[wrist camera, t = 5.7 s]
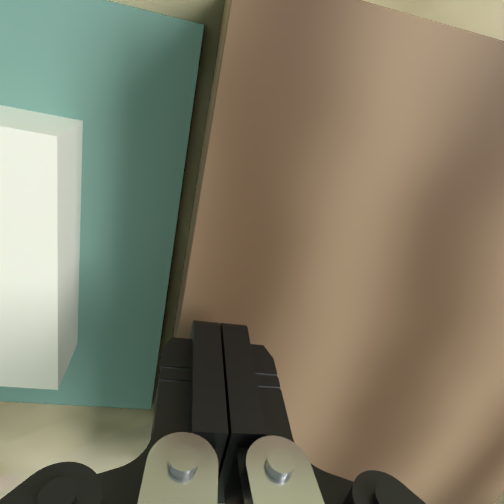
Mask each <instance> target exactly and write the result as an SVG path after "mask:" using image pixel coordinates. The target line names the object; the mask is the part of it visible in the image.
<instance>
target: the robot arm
mask: <svg viewBox="0 0 504 504" xmlns="http://www.w3.org/2000/svg"><path fill="white" fill-rule="evenodd" d="M217 503H220V504H426V503H425V502H424V501H423V500H421V499H420V498H419V497H418V496H417V495H416V494H414V493H413V492H412V491H411V490H410V489H408V488H407V487H406V486H405V485H404V484H403V483H401V482H400V481H399V480H398V479H396V478H395V477H393V476H391V475H389V474H387V473H385V472H381V471H376V470H368V471H364V472H362V473H360V474H359V475H358V476H357V477H356V479H355V480H354V482H353V481H350V480H348V479H345V478H342V477H339V476H336V475H333V474H331V473H328V472H325V471H323V470H321V469H319V468H317V467H315V466H314V465H313V464H311V463H310V461H309V459H308V457H307V455H306V454H305V452H304V451H303V450H302V449H301V448H300V447H299V446H298V445H297V444H295V442H294V440H293V436H292V432H291V428H290V424H289V420H288V416H287V412H286V407H285V403H284V399H283V395H282V391H281V389H280V383H279V379H278V377H277V370H276V366H275V362H274V358H273V357H272V356H271V354H270V353H269V352H268V351H267V349H266V348H265V347H264V345H257V344H250V338H249V333H248V327H247V325H239V324H229V323H217V322H207V321H197V320H193V323H192V328H191V333H190V339H187V338H175V337H172V338H171V339H170V341H169V342H168V343H167V345H166V346H165V347H164V349H163V351H162V358H161V365H160V372H159V379H158V385H157V393H156V401H155V409H154V417H153V425H152V434H151V440H150V443H149V445H148V446H147V448H146V449H145V450H144V452H143V453H142V454H141V455H140V456H139V457H138V458H136V459H135V460H133V461H132V462H130V463H128V464H127V465H125V466H122V467H119V468H116V469H113V470H109V471H106V472H103V473H99V474H96V473H95V472H94V471H93V470H92V469H91V468H89V467H88V466H86V465H83V464H81V463H76V462H61V463H56V464H52V465H50V466H47V467H45V468H43V469H41V470H39V471H37V472H36V473H34V474H33V475H32V476H30V477H29V478H28V479H26V480H25V481H24V482H23V483H21V484H20V485H19V486H17V487H16V488H15V489H13V490H12V491H11V492H10V493H8V494H7V495H6V496H4V497H3V498H2V499H1V500H0V504H217Z"/></svg>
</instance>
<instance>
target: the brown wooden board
mask: <svg viewBox="0 0 504 504" xmlns="http://www.w3.org/2000/svg"><path fill="white" fill-rule="evenodd" d="M193 320H197V321H207V322H217V323H229V324H239V325H247V327H248V333H249V338H250V344H257V345H264V347H265V348H266V349H267V351H268V352H269V353H270V354H271V356H272V357H273V358H274V362H275V366H276V370H277V377H278V379H279V383H280V389H281V391H282V395H283V399H284V403H285V407H286V412H287V416H288V420H289V424H290V428H291V432H292V436H293V440H294V442H295V444H297V445H298V446H299V447H300V448H301V449H302V450H303V451H304V452H305V454H306V455H307V457H308V459H309V461H310V463H311V464H313V465H314V466H315V467H317V468H319V469H321V470H323V471H325V472H328V473H331V474H333V475H336V476H339V477H342V478H345V479H348V480H350V481H353V482H354V480H355V479H356V477H357V476H358V475H359V474H360V473H362V472H364V471H368V470H376V471H381V472H385V473H387V474H389V475H391V476H393V477H395V478H396V479H398V480H399V481H400V482H401V483H403V484H404V485H405V486H406V487H407V488H408V489H410V490H411V491H412V492H413V493H414V494H416V495H417V496H418V497H419V498H420V499H421V500H423V501H424V502H425V503H426V504H494V503H495V501H496V500H497V499H498V498H499V496H500V495H501V494H502V492H503V491H504V41H502V40H498V39H495V38H491V37H488V36H484V35H481V34H477V33H474V32H470V31H467V30H463V29H460V28H456V27H453V26H449V25H446V24H442V23H439V22H435V21H432V20H428V19H425V18H421V17H418V16H414V15H411V14H407V13H404V12H400V11H397V10H393V9H390V8H386V7H383V6H379V5H376V4H372V3H369V2H365V1H362V0H225V3H224V10H223V16H222V23H221V29H220V36H219V42H218V48H217V55H216V61H215V68H214V74H213V81H212V87H211V93H210V100H209V106H208V113H207V119H206V126H205V132H204V139H203V145H202V151H201V158H200V164H199V171H198V177H197V184H196V190H195V197H194V203H193V209H192V216H191V222H190V229H189V235H188V242H187V248H186V255H185V261H184V267H183V274H182V280H181V287H180V293H179V300H178V306H177V312H176V319H175V325H174V332H173V337H175V338H187V339H190V333H191V328H192V323H193ZM217 504H220V503H217Z"/></svg>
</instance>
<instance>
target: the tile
mask: <svg viewBox="0 0 504 504" xmlns="http://www.w3.org/2000/svg"><path fill="white" fill-rule="evenodd" d="M82 137H83V121H82V120H76V119H71V118H66V117H61V116H55V115H50V114H45V113H40V112H34V111H29V110H24V109H19V108H13V107H8V106H3V105H0V386H2V387H18V388H34V389H50V390H58V389H59V387H60V384H61V382H62V379H63V377H64V375H65V372H66V370H67V367H68V365H69V363H70V360H71V358H72V356H73V353H74V351H75V348H76V346H77V344H78V303H79V262H80V220H81V178H82Z"/></svg>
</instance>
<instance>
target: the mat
mask: <svg viewBox="0 0 504 504" xmlns="http://www.w3.org/2000/svg"><path fill="white" fill-rule="evenodd" d="M203 29H204V25H203V24H199V23H195V22H191V21H187V20H183V19H179V18H175V17H171V16H167V15H163V14H159V13H155V12H151V11H147V10H143V9H139V8H135V7H131V6H127V5H123V4H119V3H115V2H111V1H107V0H0V105H3V106H8V107H13V108H19V109H24V110H29V111H34V112H40V113H45V114H50V115H55V116H61V117H66V118H71V119H76V120H82V121H83V137H82V178H81V220H80V262H79V303H78V344H77V346H76V348H75V351H74V353H73V356H72V358H71V360H70V363H69V365H68V367H67V370H66V372H65V375H64V377H63V379H62V382H61V384H60V387H59V389H58V390H50V389H34V388H18V387H2V386H0V401H4V402H23V403H41V404H59V405H77V406H96V407H114V408H132V409H150V410H151V404H152V397H153V390H154V382H155V375H156V368H157V361H158V354H159V346H160V339H161V332H162V325H163V318H164V310H165V303H166V296H167V289H168V282H169V274H170V267H171V260H172V253H173V245H174V238H175V231H176V224H177V217H178V209H179V202H180V195H181V188H182V181H183V173H184V166H185V159H186V152H187V145H188V137H189V130H190V123H191V116H192V108H193V101H194V94H195V87H196V80H197V72H198V65H199V58H200V51H201V44H202V36H203Z"/></svg>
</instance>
